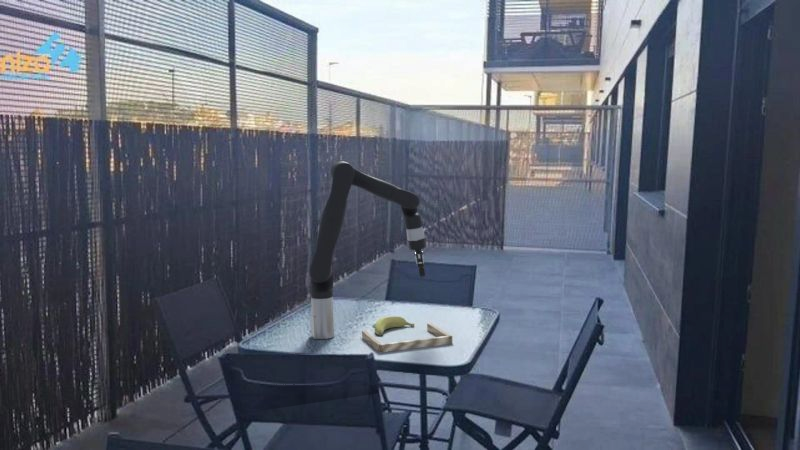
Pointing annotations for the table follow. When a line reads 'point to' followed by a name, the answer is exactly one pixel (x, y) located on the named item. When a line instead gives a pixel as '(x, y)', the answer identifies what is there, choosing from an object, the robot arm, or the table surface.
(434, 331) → the wooden rimmed tray
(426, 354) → the table surface
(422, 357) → the table surface
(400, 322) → the banana
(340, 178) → the robot arm
